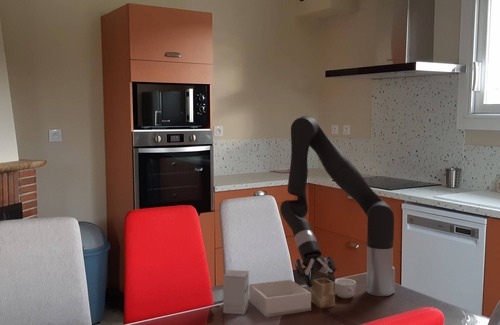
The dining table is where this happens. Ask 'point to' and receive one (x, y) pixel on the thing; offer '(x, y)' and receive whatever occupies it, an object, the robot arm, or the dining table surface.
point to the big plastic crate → (279, 298)
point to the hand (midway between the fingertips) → (322, 285)
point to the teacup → (345, 288)
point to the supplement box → (235, 292)
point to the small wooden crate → (323, 292)
